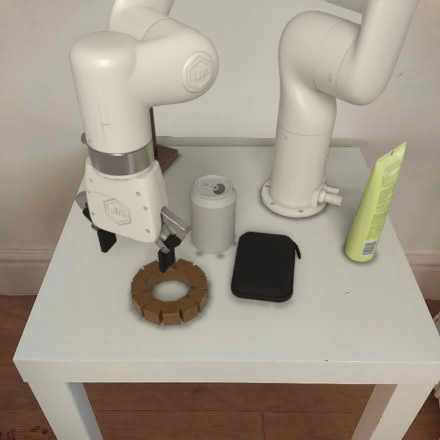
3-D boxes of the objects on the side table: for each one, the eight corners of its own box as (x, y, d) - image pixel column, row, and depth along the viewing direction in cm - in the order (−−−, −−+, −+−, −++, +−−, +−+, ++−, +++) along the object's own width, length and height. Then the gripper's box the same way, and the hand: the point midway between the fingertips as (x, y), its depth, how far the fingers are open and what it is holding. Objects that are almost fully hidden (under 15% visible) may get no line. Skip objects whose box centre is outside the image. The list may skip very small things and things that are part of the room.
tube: (342, 239, 80) (371, 138, 65) (371, 241, 80) (407, 140, 65) (345, 262, 76) (376, 160, 62) (375, 264, 76) (414, 162, 61)
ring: (219, 282, 73) (219, 270, 71) (187, 335, 66) (186, 324, 64) (155, 261, 76) (154, 250, 74) (118, 310, 69) (116, 299, 67)
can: (230, 260, 76) (232, 202, 67) (186, 253, 77) (183, 195, 68) (237, 231, 81) (240, 174, 72) (197, 225, 82) (195, 168, 73)
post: (178, 155, 97) (174, 103, 89) (160, 175, 92) (154, 122, 84) (145, 147, 99) (139, 95, 91) (126, 166, 94) (117, 113, 86)
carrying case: (297, 310, 69) (300, 245, 79) (300, 297, 67) (303, 232, 77) (228, 302, 70) (239, 239, 80) (229, 289, 68) (240, 225, 78)
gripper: (41, 149, 54) (73, 255, 66) (171, 186, 49) (178, 292, 62) (79, 121, 58) (101, 225, 71) (200, 153, 54) (201, 257, 67)
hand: (137, 256), depth 67 cm, fingers open, 9 cm apart
